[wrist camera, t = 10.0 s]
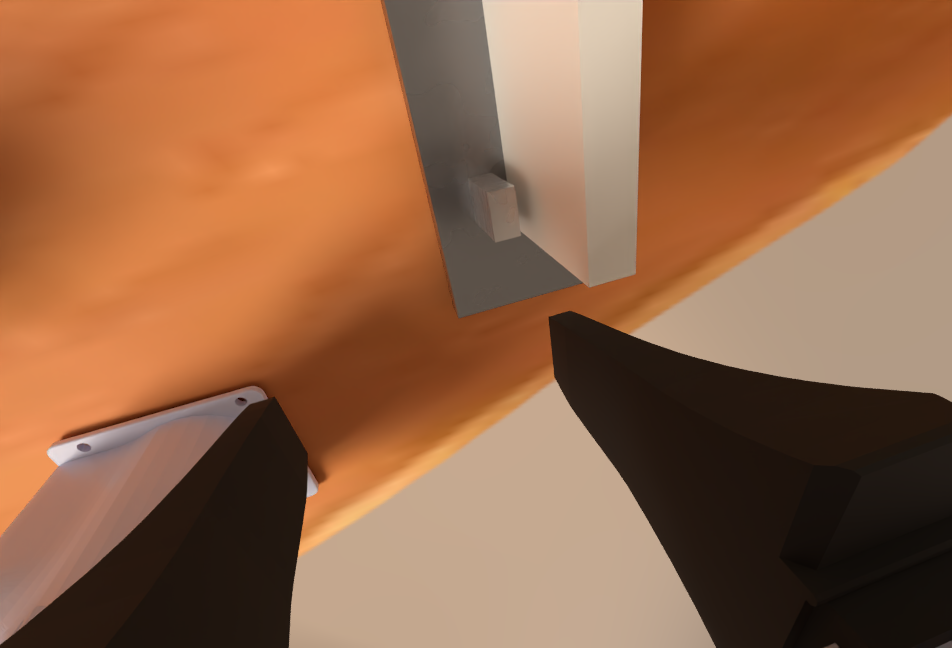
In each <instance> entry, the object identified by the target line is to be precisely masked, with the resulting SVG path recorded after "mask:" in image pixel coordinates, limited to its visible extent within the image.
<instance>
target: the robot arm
mask: <svg viewBox="0 0 952 648" xmlns="http://www.w3.org/2000/svg"><path fill="white" fill-rule="evenodd" d="M549 326H550V336H551V346H552V356H553V366H554V376H555V379H556V380H557V382H558V384H559V386H560V388H561V390H562V392H563V394H564V395H565V397H566V399H567V401H568V402H569V404H570V406H571V407H572V409H573V410H574V412H575V413H576V415H577V416H578V417H579V419H580V420H581V422H582V423H583V424H584V426H585V427H586V428H587V430H588V431H589V433H590V434H591V435H592V437H593V438H594V439H595V441H596V442H597V444H598V445H599V446H600V447H601V449H602V450H603V452H604V453H605V454H606V456H607V457H608V458H609V460H610V461H611V462H612V464H613V465H614V467H615V468H616V469H617V471H618V472H619V473H620V475H621V477H622V478H623V480H624V481H625V483H626V484H627V486H628V487H629V489H630V491H631V492H632V494H633V496H634V497H635V499H636V501H637V502H638V504H639V506H640V508H641V509H642V511H643V513H644V514H645V516H646V518H647V519H648V521H649V523H650V525H651V526H652V528H653V530H654V532H655V534H656V535H657V537H658V539H659V541H660V542H661V544H662V546H663V547H664V550H665V551H666V553H667V555H668V557H669V558H670V560H671V562H672V564H673V566H674V568H675V569H676V571H677V573H678V575H679V577H680V579H681V581H682V582H683V584H684V586H685V588H686V590H687V592H688V593H689V596H690V597H691V599H692V601H693V603H694V605H695V607H696V609H697V611H698V613H699V615H700V617H701V619H702V621H703V622H704V625H705V627H706V629H707V630H708V632H709V634H710V636H711V638H712V640H713V642H714V644H715V646H716V648H952V402H950V401H948V400H947V399H945V398H943V397H941V396H939V395H936V394H933V393H921V392H909V391H897V390H884V389H873V388H860V387H850V386H842V385H834V384H826V383H819V382H811V381H804V380H798V379H792V378H785V377H778V376H773V375H769V374H763V373H759V372H753V371H748V370H743V369H739V368H734V367H729V366H726V365H722V364H718V363H714V362H710V361H706V360H703V359H698V358H695V357H692V356H688V355H685V354H681V353H678V352H675V351H672V350H669V349H667V348H663V347H661V346H658V345H655V344H652V343H649V342H646V341H644V340H641V339H638V338H636V337H633V336H631V335H628V334H626V333H623V332H621V331H618V330H616V329H614V328H611V327H609V326H606V325H604V324H602V323H599V322H597V321H595V320H592V319H590V318H587V317H585V316H582V315H580V314H577V313H575V312H572V311H568V312H564V313H561V314H557V315H554V316H550V317H549ZM238 398H245V399H246V401H240V400H239V399H238ZM83 443H85V444H88V445H85V444H83ZM89 445H90V446H89ZM47 455H48V456H49V457H50V458H51V459H52V460H53V461H54V462H55V463H56V464H57V465H58V468H57V469H56V470H55V471H54V472H53V474H52V475H51V476H50V477H49V478H48V480H47V481H46V482H45V483H44V484H43V486H42V487H41V488H40V489H39V491H38V492H37V493H36V494H35V495H34V497H33V498H32V499H31V500H30V501H29V503H28V504H27V505H26V506H25V507H24V509H23V510H22V511H21V512H20V514H19V515H18V516H17V517H16V518H15V520H14V521H13V522H12V523H11V524H10V526H9V527H8V528H7V529H6V530H5V532H4V533H3V534H2V535H1V537H0V648H289V632H290V613H291V600H292V591H293V583H294V576H295V570H296V563H297V557H298V550H299V544H300V538H301V531H302V525H303V518H304V511H305V504H306V497H309V496H312V495H314V494H316V493H317V491H318V487H319V485H318V482H317V480H316V479H315V477H314V475H313V474H312V472H311V470H310V469H309V467H308V453H307V452H306V450H305V448H304V447H303V445H302V443H301V441H300V440H299V438H298V436H297V434H296V433H295V431H294V429H293V428H292V426H291V424H290V422H289V421H288V419H287V417H286V415H285V414H284V412H283V410H282V408H281V407H280V405H279V403H278V402H277V400H276V398H275V397H273V398H269V399H268V397H267V396H266V394H265V392H264V391H263V390H262V389H261V388H259V387H256V386H249V387H245V388H242V389H238V390H235V391H231V392H228V393H224V394H221V395H217V396H214V397H210V398H207V399H203V400H200V401H196V402H193V403H189V404H186V405H182V406H179V407H175V408H172V409H169V410H165V411H162V412H158V413H155V414H151V415H148V416H144V417H141V418H137V419H134V420H130V421H127V422H123V423H120V424H116V425H113V426H109V427H106V428H102V429H99V430H95V431H92V432H88V433H85V434H81V435H78V436H74V437H71V438H67V439H64V440H60V441H57V442H55V443H53V444H52V445H51V447H50V448H49V449H48V450H47Z"/></svg>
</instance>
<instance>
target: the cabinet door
mask: <svg viewBox="0 0 952 648" xmlns="http://www.w3.org/2000/svg"><path fill="white" fill-rule="evenodd" d="M482 4H483V11H484V18H485V25H486V33H487V40H488V47H489V54H490V62H491V69H492V76H493V84H494V91H495V98H496V105H497V113H498V120H499V127H500V135H501V142H502V149H503V156H504V164H505V171H506V178H507V182H508V183H510V184H512V185H514V186H515V191H516V199H517V207H518V215H519V223H520V231H521V232H522V233H523V234H525V235H526V236H527V237H528V238H529V239H531V240H532V241H533V242H534V243H535V244H537V245H538V246H539V247H540V248H542V249H543V250H544V251H545V252H546V253H548V254H549V255H550V256H551V257H553V258H554V259H555V260H556V261H557V262H559V263H560V264H561V265H562V266H563V267H565V268H566V269H567V270H568V271H570V272H571V273H572V274H573V275H574V276H576V277H577V278H578V279H579V280H580V281H582V282H583V283H584V284H585V285H587V286H588V287H589V288H590V287H593V286H597V285H600V284H604V283H607V282H610V281H614V280H617V279H621V278H624V277H628V276H631V275H635V274H636V243H637V204H638V165H639V127H640V88H641V49H642V11H643V0H482Z"/></svg>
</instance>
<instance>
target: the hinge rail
mask: <svg viewBox="0 0 952 648" xmlns="http://www.w3.org/2000/svg"><path fill="white" fill-rule="evenodd" d="M381 4H382V8H383V12H384V16H385V20H386V25H387V29H388V33H389V37H390V41H391V46H392V50H393V54H394V58H395V62H396V67H397V71H398V75H399V79H400V83H401V88H402V92H403V96H404V100H405V104H406V109H407V113H408V117H409V121H410V125H411V130H412V134H413V138H414V142H415V146H416V151H417V155H418V159H419V163H420V167H421V172H422V176H423V180H424V184H425V188H426V193H427V197H428V201H429V205H430V209H431V214H432V218H433V222H434V226H435V230H436V235H437V239H438V243H439V247H440V251H441V256H442V260H443V264H444V268H445V272H446V277H447V281H448V285H449V289H450V294H451V298H452V302H453V306H454V309H455V311H456V313H457V316H458V318H462V317H465V316H469V315H472V314H476V313H479V312H483V311H486V310H490V309H493V308H497V307H500V306H504V305H507V304H511V303H514V302H518V301H521V300H525V299H529V298H532V297H536V296H539V295H543V294H546V293H550V292H553V291H557V290H560V289H564V288H567V287H571V286H574V285H578V284H581V283H583V282H582V281H580V280H579V279H578V278H577V277H576V276H574V275H573V274H572V273H571V272H570V271H568V270H567V269H566V268H565V267H563V266H562V265H561V264H560V263H559V262H557V261H556V260H555V259H554V258H553V257H551V256H550V255H549V254H548V253H546V252H545V251H544V250H543V249H542V248H540V247H539V246H538V245H537V244H535V243H534V242H533V241H532V240H531V239H529V238H528V237H527V236H526V235H525V234H523V233H522V232H521V231H520V223H519V215H518V207H517V199H516V191H515V186H514V185H512V184H510V183H508V182H507V178H506V171H505V164H504V156H503V149H502V142H501V135H500V127H499V120H498V113H497V105H496V98H495V91H494V84H493V76H492V69H491V62H490V54H489V47H488V40H487V33H486V25H485V18H484V11H483V4H482V0H381Z"/></svg>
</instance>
